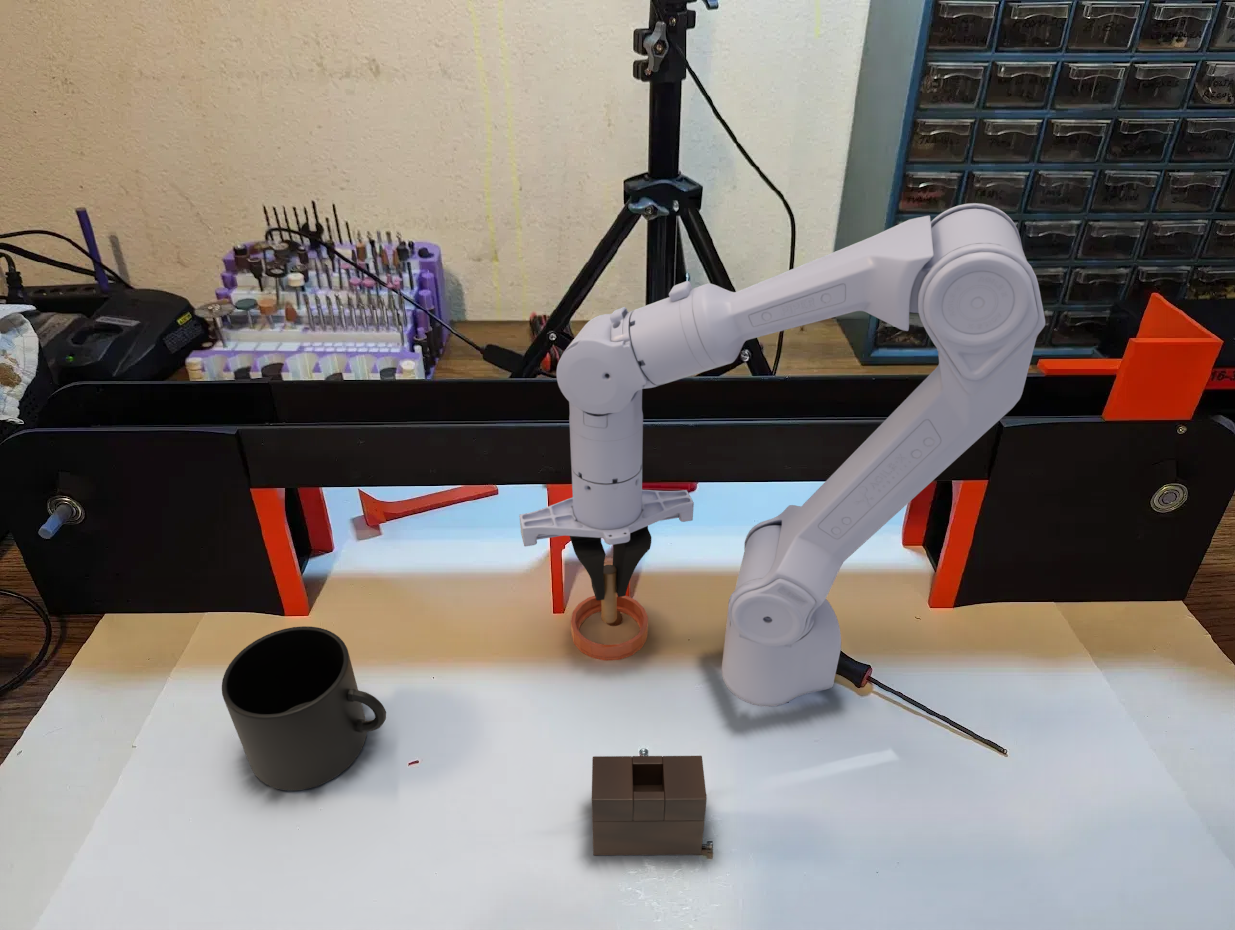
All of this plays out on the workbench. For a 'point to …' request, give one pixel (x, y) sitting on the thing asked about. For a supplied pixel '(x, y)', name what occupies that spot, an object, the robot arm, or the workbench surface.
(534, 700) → the workbench surface
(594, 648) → the ring
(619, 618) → the ball
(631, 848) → the stand
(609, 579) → the stick
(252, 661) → the mug
